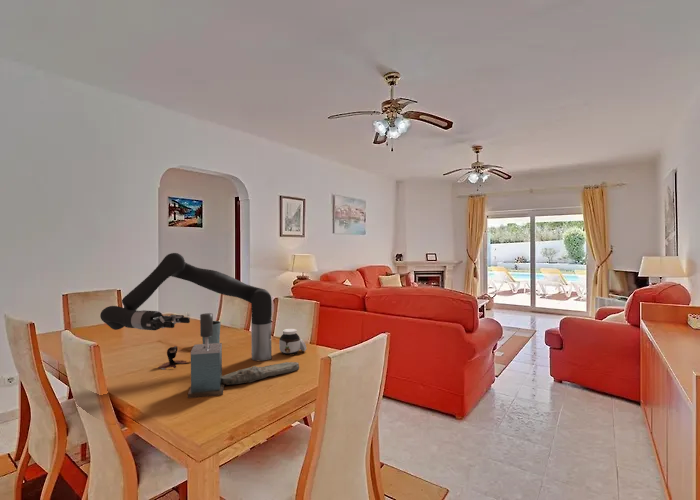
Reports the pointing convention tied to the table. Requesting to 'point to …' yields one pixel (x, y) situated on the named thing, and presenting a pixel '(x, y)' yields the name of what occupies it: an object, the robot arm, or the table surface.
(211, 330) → the lever
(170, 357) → the dark brown curved piece
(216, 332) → the drinking glass
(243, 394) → the table surface
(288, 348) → the spread jar
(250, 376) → the long grey stone
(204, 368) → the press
